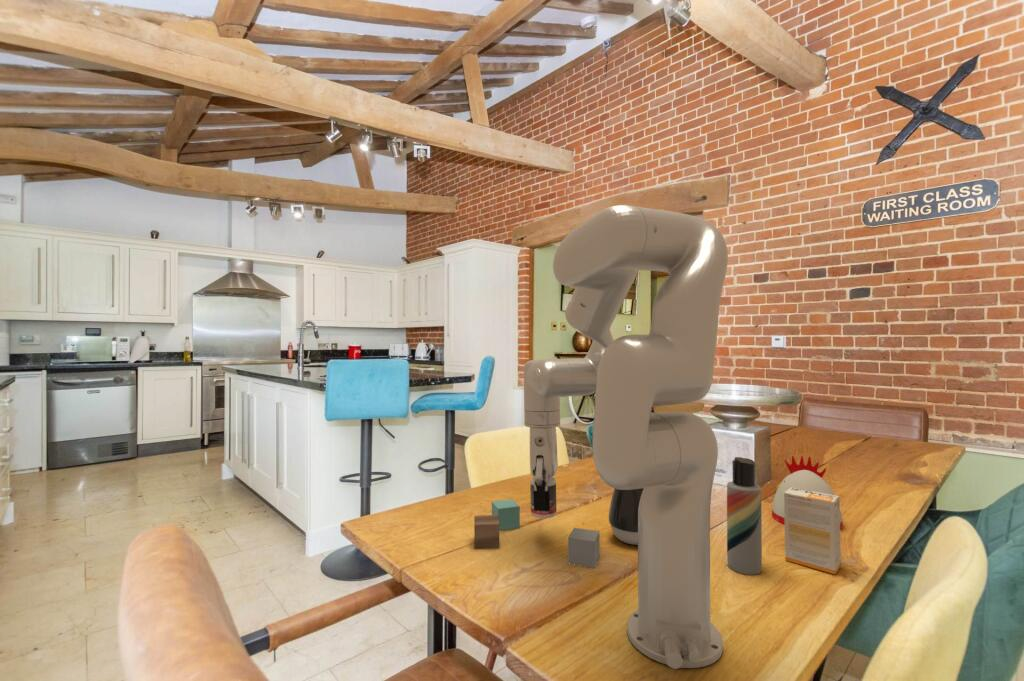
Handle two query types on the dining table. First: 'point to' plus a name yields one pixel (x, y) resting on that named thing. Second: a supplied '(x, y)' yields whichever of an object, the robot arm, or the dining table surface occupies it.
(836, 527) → the supplement box
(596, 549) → the slate-grey block
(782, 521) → the kitchen timer
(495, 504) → the teal block
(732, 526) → the lotion bottle
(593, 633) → the dining table surface
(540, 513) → the pill bottle
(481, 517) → the walnut block
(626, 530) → the pump dispenser
